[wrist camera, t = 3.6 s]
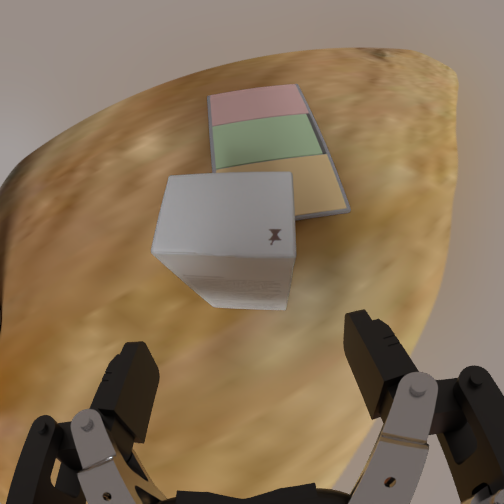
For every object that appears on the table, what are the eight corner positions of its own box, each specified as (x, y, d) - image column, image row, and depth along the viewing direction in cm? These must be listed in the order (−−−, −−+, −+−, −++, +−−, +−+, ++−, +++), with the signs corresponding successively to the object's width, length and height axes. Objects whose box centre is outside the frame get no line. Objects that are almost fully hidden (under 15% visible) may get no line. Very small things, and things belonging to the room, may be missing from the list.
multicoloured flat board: (219, 233, 24) (217, 229, 24) (207, 98, 32) (206, 95, 31) (349, 212, 24) (351, 208, 23) (297, 86, 31) (297, 82, 31)
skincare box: (287, 260, 23) (297, 169, 12) (286, 311, 21) (299, 260, 10) (215, 258, 23) (166, 172, 12) (210, 308, 22) (147, 256, 11)
